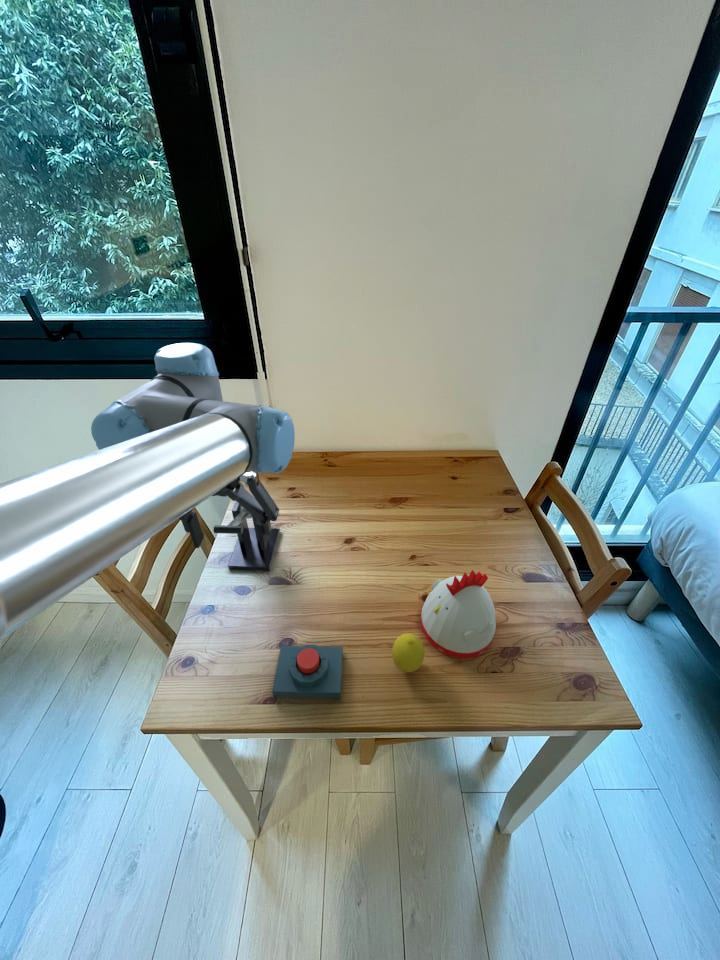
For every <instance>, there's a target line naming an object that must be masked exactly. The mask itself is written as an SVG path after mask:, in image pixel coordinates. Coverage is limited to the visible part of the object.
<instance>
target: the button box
mask: <svg viewBox="0 0 720 960" xmlns="http://www.w3.org/2000/svg"><path fill="white" fill-rule="evenodd" d="M279 648H280V649H279V654H278V660H277V664H276V669H275V677H274V681H273V688H272V694H273V698H275V699H313V700H314V699H316V700H317V699H319V700H320V699H321V700H341V697H342V680H343V677H342V676H343V659H344V655H343V654H344V650H343V649H344V648H343V646H318V645H317V644H304V645H280V647H279ZM307 648H311V649H314V650H315V651H316V652H317V653H318V655H319V667H318V669H317V670H316V671H315V672H314V673H312V674H304V673H302V672H301V671H300V670H299V668H298V663H297V657H298V654H299V653H300V652H301V651H302V650H304V649H307Z"/></svg>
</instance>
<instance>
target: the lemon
mask: <svg viewBox="0 0 720 960" xmlns="http://www.w3.org/2000/svg"><path fill="white" fill-rule="evenodd" d="M425 653H426V651H425V647H424V644H423V641H422V640H421V638H419V637H418V636H417V635H415V634H413V633H403V634H401V635H399V636H398V637H397V638H396V639H395V641H394V642H393V645H392V648H391V656H392V661H393V663H394V665H395V667H397V669H399V670H400V671H402V672H405V673H412V672H416V671H417V670H418V669H419V668H420V667H421V666H422V665H423V663H424V660H425Z"/></svg>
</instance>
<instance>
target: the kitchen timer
mask: <svg viewBox="0 0 720 960" xmlns="http://www.w3.org/2000/svg"><path fill="white" fill-rule="evenodd" d="M488 579H489V577H488V575H487V574H486V573H484V574H482V573H481V571H478V572H477V573H476V572H475V571H474V570H473V569H472V570H471V571H470V573H469V575H468V574H467V573H466V572H464V573H463V574H462V575H457V574H456V575H453V576H450V577H448V578H446V579H441V578H439V579H437V580H435V581H434V582H433V583H432V585H431V591H430V592H429V593H428V594H427V597H426V599H425V601H424V603H423V605H422V608H421V611H420V621H419V622H420V627H421V631H422V633H423V635H424V636H425V638H426V640H427V641H428V642H429V643H430V644H431V645H432V646H433V647H434V648H435V649H436V650H438V651H439V652H441V653H443V654H444V655H447V656H450V657H453V658H456V659H470V658H475V657H478V656H480V655H481V654H483V653H485V652H486V651H487V650H488V648H489V647H490V646H491V645H492V643H493V639H494V637H495V634H496V629H497V622H496V621H497V619H496V611H495V605H494V602H493V600H492V597H491V594H490V592H488V590H487V589H486V588H485V586H484V584H486V582H487V581H488Z"/></svg>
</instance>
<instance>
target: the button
mask: <svg viewBox="0 0 720 960" xmlns="http://www.w3.org/2000/svg"><path fill="white" fill-rule="evenodd" d="M297 663H298V668H299V670H300V671H301V672H302V673H304V674H312V673H314V672H315V671H316V670H317V669H318V667H319V655H318V653H317V652H316V651H315V650H314V649H311V648H307V649H304V650H302V651H301V652H300V653H299V654H298V657H297Z"/></svg>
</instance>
